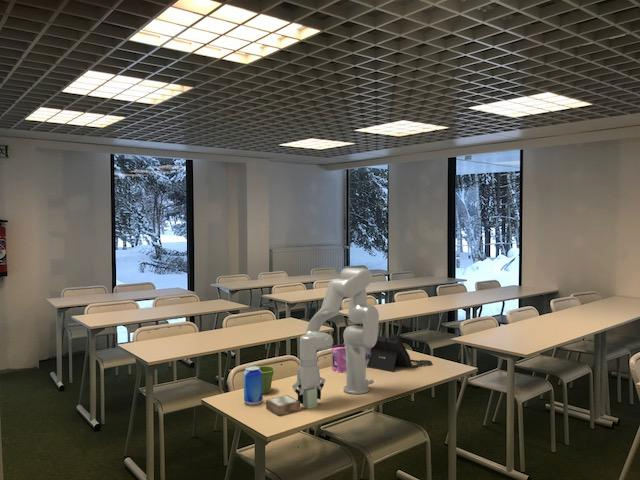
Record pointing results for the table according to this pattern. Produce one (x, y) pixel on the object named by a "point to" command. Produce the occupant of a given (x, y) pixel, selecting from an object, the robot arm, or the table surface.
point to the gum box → (344, 357)
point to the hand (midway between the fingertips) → (309, 400)
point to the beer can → (253, 385)
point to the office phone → (391, 354)
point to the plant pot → (266, 378)
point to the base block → (283, 405)
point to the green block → (310, 398)
